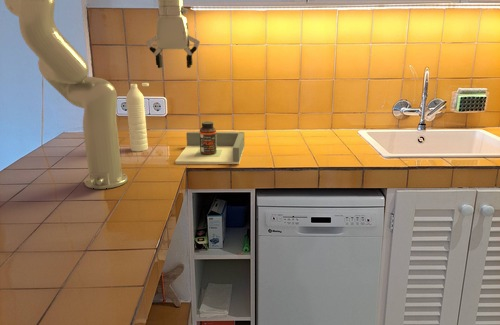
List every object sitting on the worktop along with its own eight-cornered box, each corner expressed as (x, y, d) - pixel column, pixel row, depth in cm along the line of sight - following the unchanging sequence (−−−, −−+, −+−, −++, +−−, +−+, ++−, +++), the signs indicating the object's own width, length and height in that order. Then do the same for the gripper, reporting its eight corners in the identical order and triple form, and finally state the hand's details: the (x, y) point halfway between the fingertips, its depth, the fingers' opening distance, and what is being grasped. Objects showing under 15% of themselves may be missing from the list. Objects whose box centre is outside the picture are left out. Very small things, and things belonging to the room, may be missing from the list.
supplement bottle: (202, 156, 159) (201, 124, 156) (198, 151, 165) (196, 121, 161) (218, 154, 162) (217, 123, 158) (214, 150, 167) (212, 120, 163)
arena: (239, 164, 153) (238, 147, 151) (175, 163, 155) (174, 147, 153) (244, 147, 174) (244, 132, 172) (188, 146, 176) (187, 131, 174)
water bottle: (132, 152, 169) (125, 85, 161) (129, 148, 174) (123, 83, 167) (155, 149, 172) (150, 84, 164) (152, 145, 178) (147, 81, 170)
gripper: (200, 12, 146) (202, 66, 151) (147, 13, 147) (151, 66, 152) (196, 12, 138) (198, 68, 144) (140, 12, 140) (145, 68, 145)
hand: (174, 67), depth 148 cm, fingers open, 9 cm apart
